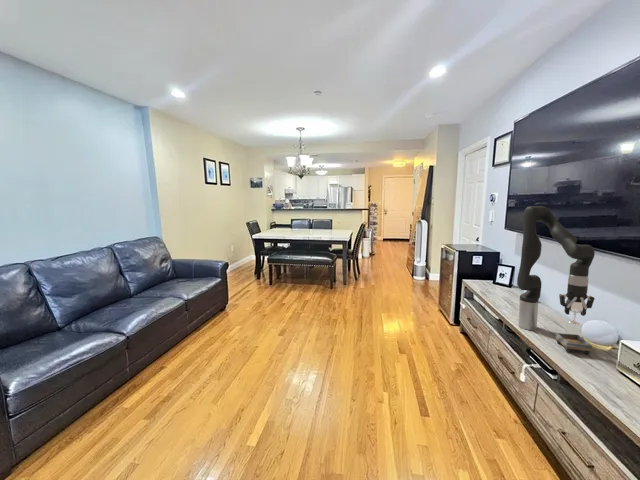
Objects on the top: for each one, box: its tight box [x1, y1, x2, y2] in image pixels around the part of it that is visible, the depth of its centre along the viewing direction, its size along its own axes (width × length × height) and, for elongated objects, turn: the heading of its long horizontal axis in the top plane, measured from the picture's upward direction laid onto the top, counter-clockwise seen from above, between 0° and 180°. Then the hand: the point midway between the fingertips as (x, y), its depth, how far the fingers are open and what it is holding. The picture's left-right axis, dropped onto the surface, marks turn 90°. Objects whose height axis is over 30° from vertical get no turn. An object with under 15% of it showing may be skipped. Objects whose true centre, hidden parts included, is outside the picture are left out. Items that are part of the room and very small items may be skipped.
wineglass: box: [568, 301, 583, 326], centre depth 144 cm, size 6×6×12 cm
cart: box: [555, 332, 593, 355], centre depth 146 cm, size 12×10×5 cm
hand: (574, 314), depth 144 cm, fingers closed on wineglass, 5 cm apart
